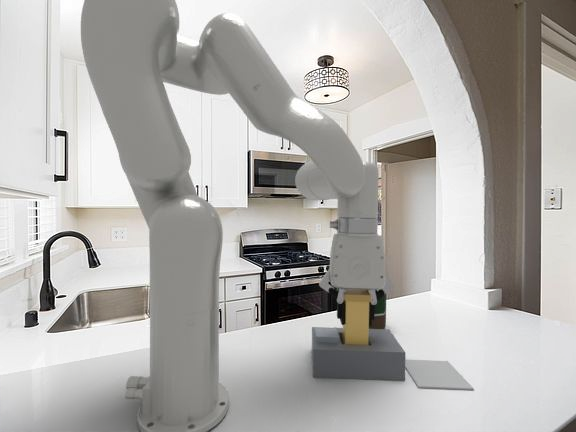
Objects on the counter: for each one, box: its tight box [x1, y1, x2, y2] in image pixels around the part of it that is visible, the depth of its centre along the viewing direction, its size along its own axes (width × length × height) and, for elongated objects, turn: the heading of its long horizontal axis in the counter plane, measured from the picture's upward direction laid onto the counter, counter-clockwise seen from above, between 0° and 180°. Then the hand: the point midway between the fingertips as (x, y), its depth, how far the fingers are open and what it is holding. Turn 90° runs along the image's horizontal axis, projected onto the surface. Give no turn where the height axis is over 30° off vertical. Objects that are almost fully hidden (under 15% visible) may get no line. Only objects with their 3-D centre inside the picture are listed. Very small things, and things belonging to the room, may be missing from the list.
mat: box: [405, 359, 475, 391], centre depth 53 cm, size 9×9×1 cm
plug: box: [342, 289, 371, 345], centre depth 57 cm, size 5×5×12 cm
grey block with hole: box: [311, 326, 406, 382], centre depth 57 cm, size 16×10×6 cm, turn 87°
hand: (355, 321), depth 57 cm, fingers closed on plug, 4 cm apart
